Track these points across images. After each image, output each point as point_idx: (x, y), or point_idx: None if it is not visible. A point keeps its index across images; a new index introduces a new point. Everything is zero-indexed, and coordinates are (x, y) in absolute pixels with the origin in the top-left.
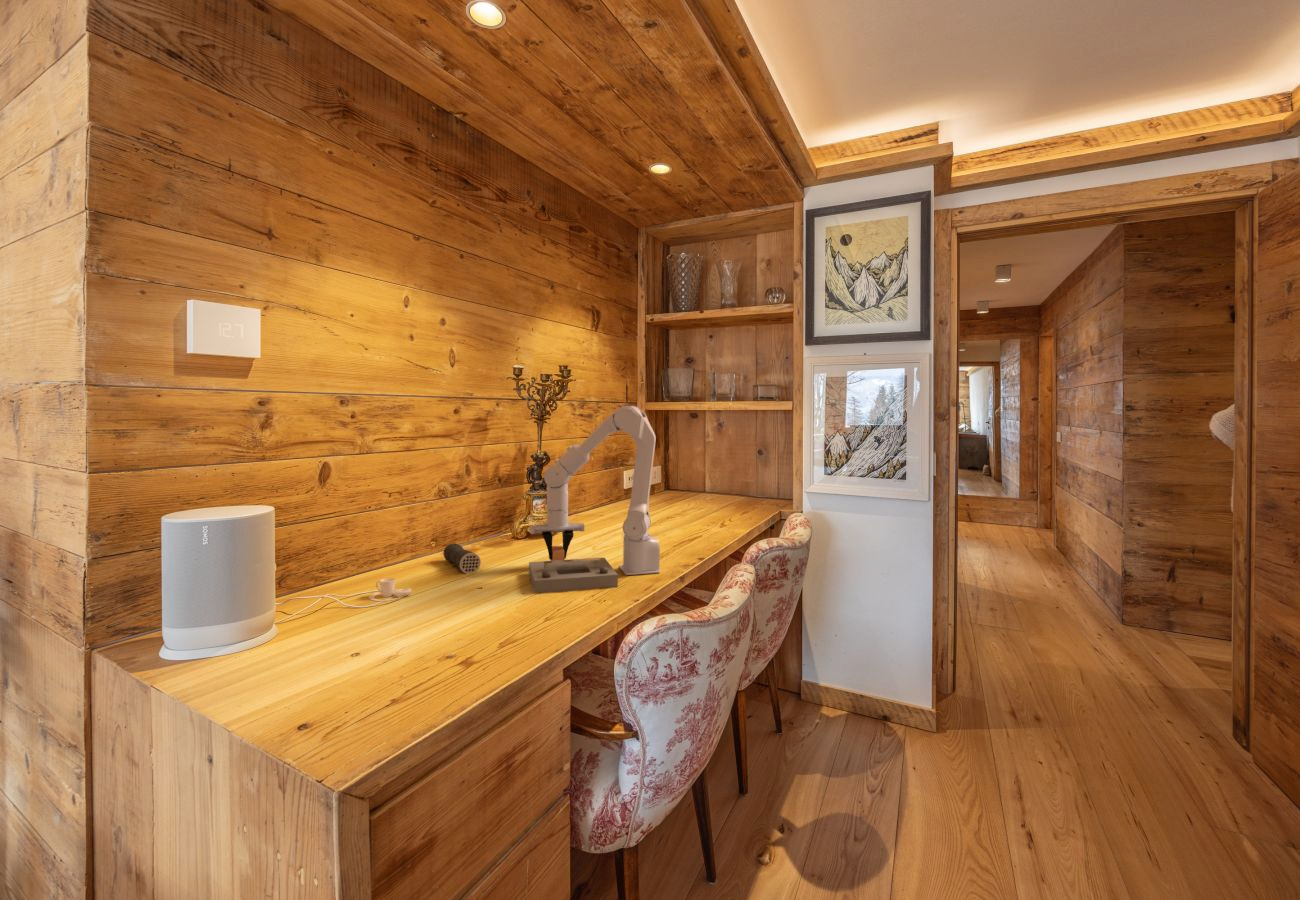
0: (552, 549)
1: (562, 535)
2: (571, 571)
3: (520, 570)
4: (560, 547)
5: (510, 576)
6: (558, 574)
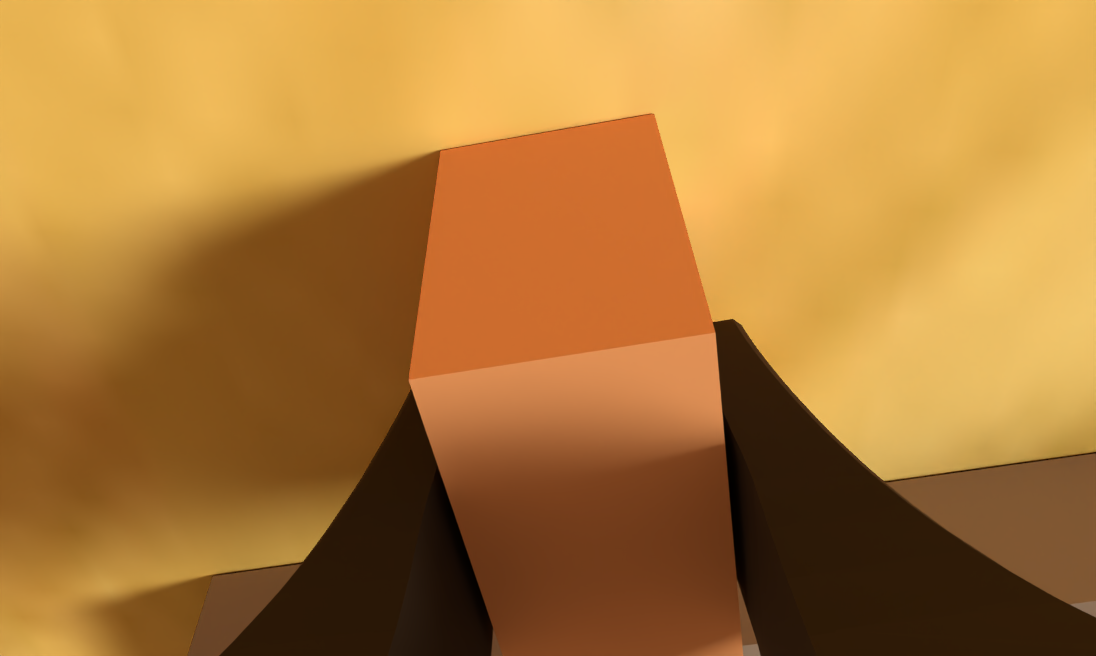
0: (495, 627)
1: (809, 640)
2: None
3: (31, 465)
4: (675, 505)
5: (17, 645)
6: None
